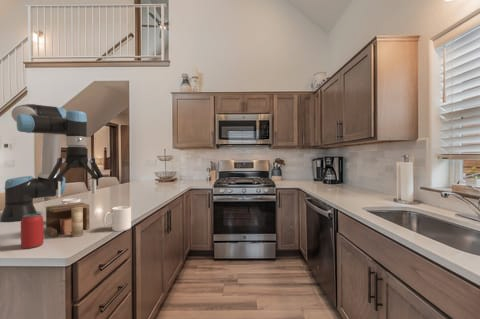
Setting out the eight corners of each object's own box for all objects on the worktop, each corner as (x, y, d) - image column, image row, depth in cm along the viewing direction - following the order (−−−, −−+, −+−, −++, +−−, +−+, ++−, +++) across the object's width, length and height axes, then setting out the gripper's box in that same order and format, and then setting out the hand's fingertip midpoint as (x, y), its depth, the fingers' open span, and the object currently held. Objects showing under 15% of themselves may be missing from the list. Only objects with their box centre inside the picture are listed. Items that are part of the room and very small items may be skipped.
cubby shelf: (46, 231, 112) (45, 206, 112) (80, 225, 123) (80, 202, 123) (53, 236, 105) (53, 209, 105) (89, 229, 116) (89, 204, 116)
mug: (67, 226, 121) (67, 202, 121) (51, 225, 122) (51, 202, 122) (84, 220, 133) (84, 198, 133) (70, 219, 134) (70, 198, 134)
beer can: (29, 243, 97) (29, 213, 97) (47, 242, 98) (47, 212, 97) (16, 249, 90) (15, 217, 90) (35, 248, 91) (34, 216, 91)
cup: (133, 229, 116) (133, 207, 116) (104, 234, 108) (104, 211, 108) (128, 225, 122) (128, 205, 122) (101, 229, 115) (101, 208, 115)
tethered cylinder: (60, 231, 112) (60, 205, 112) (75, 228, 117) (75, 203, 116) (71, 238, 103) (70, 209, 103) (86, 234, 108) (86, 207, 108)
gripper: (43, 145, 94) (44, 199, 94) (110, 147, 114) (110, 192, 114) (38, 146, 99) (38, 198, 99) (103, 147, 119) (103, 191, 119)
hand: (77, 195), depth 106 cm, fingers open, 13 cm apart
